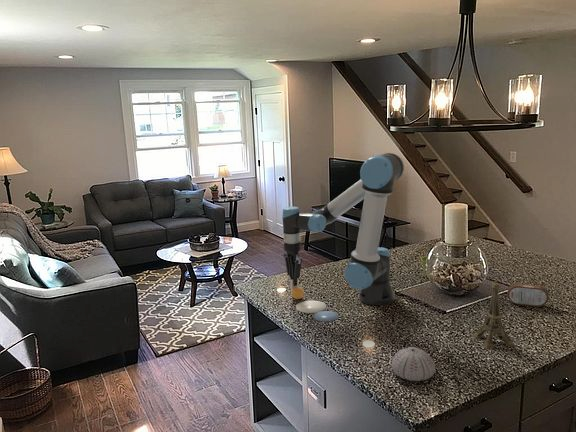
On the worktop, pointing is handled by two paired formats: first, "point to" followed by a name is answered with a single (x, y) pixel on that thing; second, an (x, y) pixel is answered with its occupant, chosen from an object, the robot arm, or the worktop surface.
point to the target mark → (310, 306)
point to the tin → (528, 295)
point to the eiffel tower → (493, 322)
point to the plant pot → (424, 263)
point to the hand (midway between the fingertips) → (294, 291)
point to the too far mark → (326, 316)
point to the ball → (297, 293)
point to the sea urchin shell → (413, 364)
